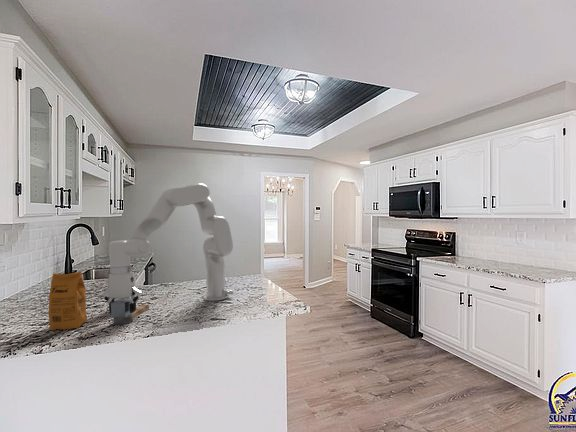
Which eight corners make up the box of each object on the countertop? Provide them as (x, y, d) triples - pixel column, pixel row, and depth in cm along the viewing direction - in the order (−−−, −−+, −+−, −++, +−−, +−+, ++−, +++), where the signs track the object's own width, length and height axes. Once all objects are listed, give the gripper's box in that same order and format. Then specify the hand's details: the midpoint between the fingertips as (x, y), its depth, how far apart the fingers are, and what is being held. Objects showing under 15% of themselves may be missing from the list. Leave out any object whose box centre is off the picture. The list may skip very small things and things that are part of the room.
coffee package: (60, 322, 133) (57, 271, 132) (91, 320, 134) (88, 269, 133) (44, 332, 123) (40, 276, 122) (77, 329, 124) (74, 274, 123)
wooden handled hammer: (138, 308, 148) (137, 295, 148) (152, 308, 147) (151, 294, 147) (109, 325, 127) (109, 309, 127) (126, 325, 127) (125, 309, 127)
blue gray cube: (133, 312, 133) (133, 298, 133) (125, 317, 127) (124, 302, 127) (120, 312, 134) (119, 298, 134) (111, 317, 128) (110, 303, 128)
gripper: (145, 268, 133) (147, 308, 134) (106, 268, 134) (108, 309, 135) (135, 271, 126) (137, 315, 126) (94, 272, 127) (96, 315, 127)
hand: (122, 311), depth 131 cm, fingers open, 8 cm apart
